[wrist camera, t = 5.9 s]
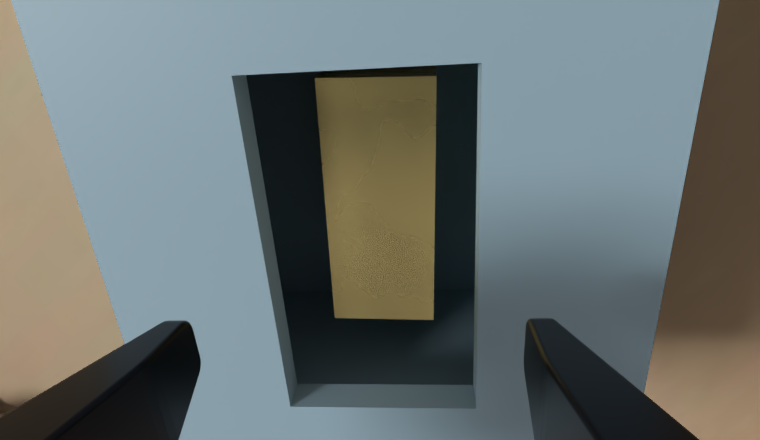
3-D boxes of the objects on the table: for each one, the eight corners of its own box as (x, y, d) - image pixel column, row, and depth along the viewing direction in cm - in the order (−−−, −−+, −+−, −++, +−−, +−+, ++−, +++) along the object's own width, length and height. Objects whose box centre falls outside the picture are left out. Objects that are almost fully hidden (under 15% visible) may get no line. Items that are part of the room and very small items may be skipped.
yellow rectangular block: (431, 230, 18) (433, 320, 13) (357, 229, 18) (334, 318, 14) (433, 42, 15) (436, 76, 11) (346, 44, 16) (315, 78, 11)
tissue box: (563, 307, 20) (628, 471, 13) (243, 309, 21) (163, 461, 14) (601, -66, 14) (736, -86, 8) (172, -35, 16) (0, -32, 9)
